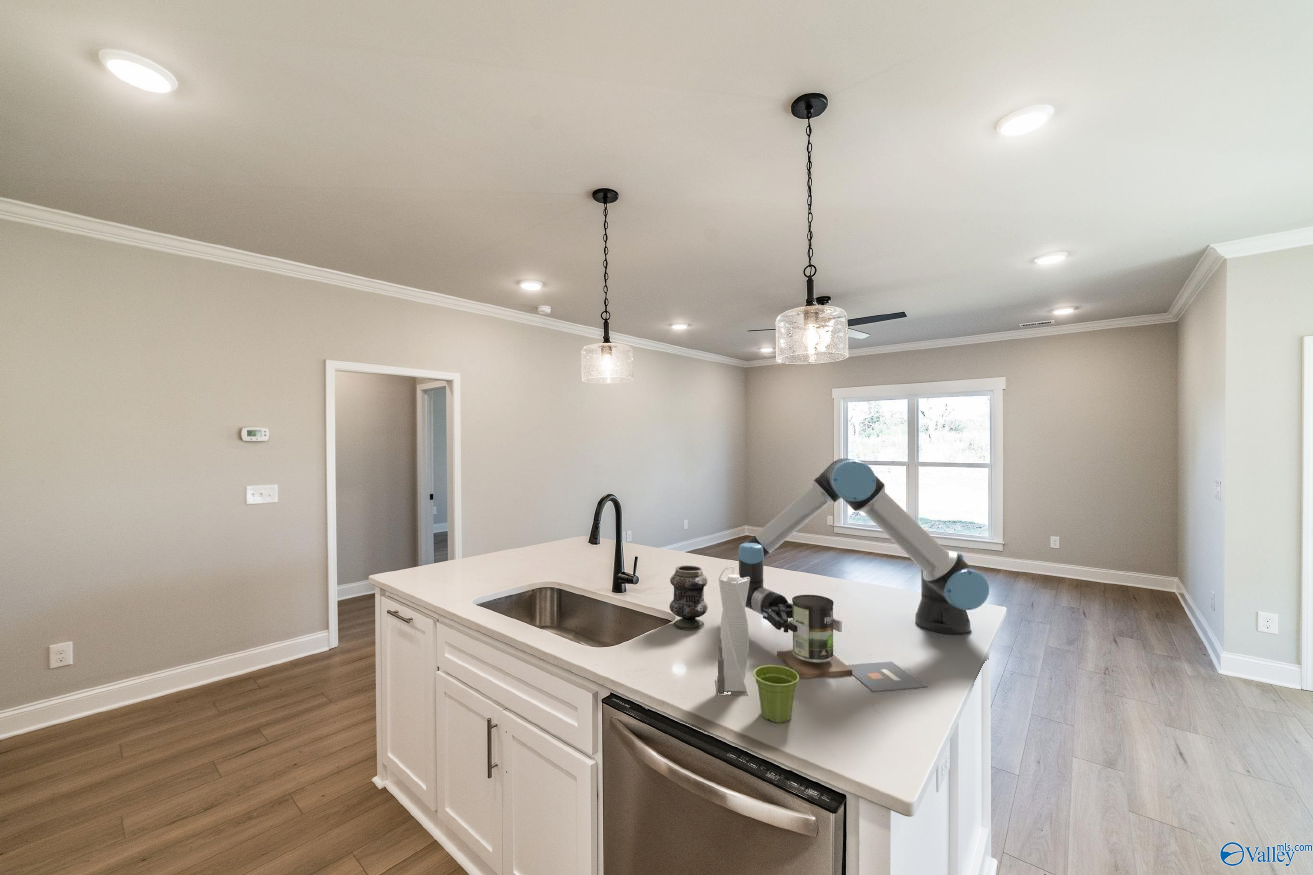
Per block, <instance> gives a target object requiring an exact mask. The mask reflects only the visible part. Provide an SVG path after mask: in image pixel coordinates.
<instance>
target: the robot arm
mask: <svg viewBox="0 0 1313 875" xmlns="http://www.w3.org/2000/svg"><path fill="white" fill-rule="evenodd" d="M840 499H842V500H843V501H844V502H845V503H846V504H847V505H848V506H849V507H850V508H851V509H852V510H853V511H854V512H862V513H864V514H865V515H866V516H867V517H868V519H870V520H871V521H872V522H873V523H874V524H875V526H877V527H878V528H879V529H880V530H881V531H882V532H883V533H884V534H885V535H886V536H887V537H888V538H889V539H890V540H891V541H892V542H893V543H895V544H896V545H897V547H898V548H900V550H902V552H904V554H906V556H908V558H910V559H911V560H912V561H913V562H914V563H915V564H916V565H917V566H918V567H919V568H920V574H921V575H920V581H921V584H920V585H921V586H920V587H921V590H920V591H921V595H920V597H921V599H920V601H919V604H918V607H917V611H916V613H915V619H914V620H915V623H917V624H916V625H917V626H919V627H921V628H924V629H926V630H928V631H932V632H936V633H940V634H941V633H942V634H953V635H961V634H962V635H963V634H968V633H969V632H970V631H971V620H970V619H969V618H970V617H969V614H968V612H967V611H973V610H975V609H978V608H980V607H981V606H982V605H983V604H984V603H985V602H986V601H987V600H988V597H989V594H990V585H989V583H988V580H987V579H986V578H985V576H984V575H983V574H982V573H981V572H980V571H978V570H976V569H974V568H973V567H972V566H971V565H970V564H969V563H968V562H966V561H965V559H964V555H963V554H962V553H959V552H956V551H953V550H946V549H945V548H944V547H943V546H942V545H941V544H940V543H939V542H938V541H937V540H936V539H935V538H934V537H933V536H931V535H930V534H929V533H928V532H927V531H926V530H925V528H923V527H922V526H921V525H920V524H919V522H917V521H916V520H915V519H914V518H913V517H912V516H911V515H909V513H908V512H906V510H904V509H903V508H902V506H900V505H899V504H898V503H897V502H896V501H895V500H894V499H893V498H892V497H891V496H890V495H889V494H887V492H886V484H885V483H884V482H883V481H882V480H881V479H880V478H879V477H878V476H877V475H876V474H875V472H874V470H872V467H871V466H870V465H868V464H867V463H866V462H863V461H861V460H860V459H855V458H838V459H836V460H834V461H832V462H831V463H830V464H829V465H828V466H827V467H826V468H825V469H824V470H823V471H822V472H821V473H820V474H819V475H818V476H817V477H816V478H814V479H813V480H812V485H811V486H810V487H809V488H808V489H807V490H805V491H804V492H803V493H802V494H801V495H800V496H798V497H797V499H795V500H793V502H792V503H791V504H790V505H788V506H787V507H786V508H785V509H783V511H781V512H780V513H779V514H778V515H777V516H775V517H774V518H773V519H772V520H771V521H770V522H768V524H766V525H765V526H764V527H762V529H760V530H759V531H758V532H757V533H755V535H754V536H752V537H751V538H750V539H749V540H746V541H745V542H743V543H741V544H740V545H739V546H738V554H737V556H738V575H739V576H740V578H744V577H750V583H749V589H748V594H747V600H746V605H745V608H748V609H749V610H751V611H753V612H756V613H757V614H760V615H762V618H763V619H764V620H766V621H768V623H769V624H771V626H773V628H775V629H776V630H777V631H782V629H783V633H785V634H786V633H789V631H790V632H792V633H793V632H794V633H796V634H798V635H800V636H802V637H804V638H806V639H808V638H809V627H807V626H805V625H803V624H801V623H798V622H796V621H794V620H793V603H792V602H789V601H788V599H787V598H786V596H784V595H782V594H781V593H777V592H775V591H773V590H771V589H769V588H766V587H764V559H765V558H766V557H768V556H769V555H770V554H771V553H773V551H774V550H776V548H778V547H779V546H780V545H781V544H783V542H785V541H786V540H787V539H789V538H790V537H791V536H792V535H793V534H795V533H796V532H797V531H798V530H799V529H800V528H802V527H803V526H804V525H805V524H807V522H809V521H810V520H811V519H812V518H814V516H816V515H817V514H818V513H819V512H820V511H822V510H823V509H824V508H825V507H826V506H828V505H829V504H835V503H836V502H837V501H839V500H840ZM842 624H843V622H842V620H840V619H838V618H835V617H833V631H836V632H838V633H842V632H843V625H842Z"/></svg>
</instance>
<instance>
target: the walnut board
mask: <svg viewBox="0 0 1313 875" xmlns="http://www.w3.org/2000/svg"><path fill="white" fill-rule="evenodd" d="M833 655H834V658H833V659H832V660H831V661H828V662H821V663H817V662H809V661H804V660H801V659H799V658H797V657H795V656H794V654H793V649H790V650H777V651H776V657H778V660H779V659H780V661H781V662H782V663H783V664H784V665H785V667H786V668H789V669H792V670H794V671H795V672H796V673H797V674H798V675H799V680H803V679H816V678H826V677H827V678H828V677H829V678H831V677H840V676H853V675H852V669H851V668H849V667H848V666H847V665H848V664H846V663H844V661H842V660H841V659H840V658H839V657H837V656H836V655H835V654H833Z"/></svg>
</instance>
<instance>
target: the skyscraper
mask: <svg viewBox="0 0 1313 875" xmlns="http://www.w3.org/2000/svg"><path fill="white" fill-rule="evenodd" d="M735 568H736V567H735V566H734V565H729V566H727V567H725V568H724V569H722V571H721V573H720V575H719V577H718V586H719V593H720V594H719V595H720V600H721V608H722V613H721V619H720V620H721V622H720V638H719V647H718V653H719V654H718V657H717V676H716V680H714V684H715V683H716V684H715V688H716V689H717V690H716V693H717V692H718V693H719V694H724V692H727V693H728V692H731V694H730V695H729V696H749V693H748V690H747V686H746V682H745V681H746V676H747V675H746V673H747V667H748V660H749V659H748V658H749V650H750V649H749V648H750V647H749V646H750V644H749V643H750V642H749V641H750V640H749V639H750V636H749V635H750V634H749V633H750V632H749V624H748V617H747V613H746V612H747V611H746V607H745V605H746V600H747V594H748V589H749V583H750V577H744V578H740V576H739V574H736V573H735V574H734V572H735ZM729 569H732V572H731V574H728V575H727V576H726V577H722V576H723V574H724V573H725V572H726V571H727V570H729Z"/></svg>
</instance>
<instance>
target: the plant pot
mask: <svg viewBox="0 0 1313 875" xmlns="http://www.w3.org/2000/svg"><path fill="white" fill-rule="evenodd" d="M752 674H753V678H754V679H755V683H756V686H757V689H758V690H757V691H758V695H759V703H760V710H761V716H762V717H763V718H764V719H765V720H770V721H771V722H774V723H786V722H788V720H790V719H791V718H792V712H793V706H794V698H795V692H796V688H797V683H798V682H799V680H800V679H799V675H798V674H797V673H796V672H795V671H794V670H792V669H789V668H788V667H787V666H782V665H775V664H773V665H771V664H769V665H761V666H759V667H756V668H755V669H754V670H753V672H752Z"/></svg>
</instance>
